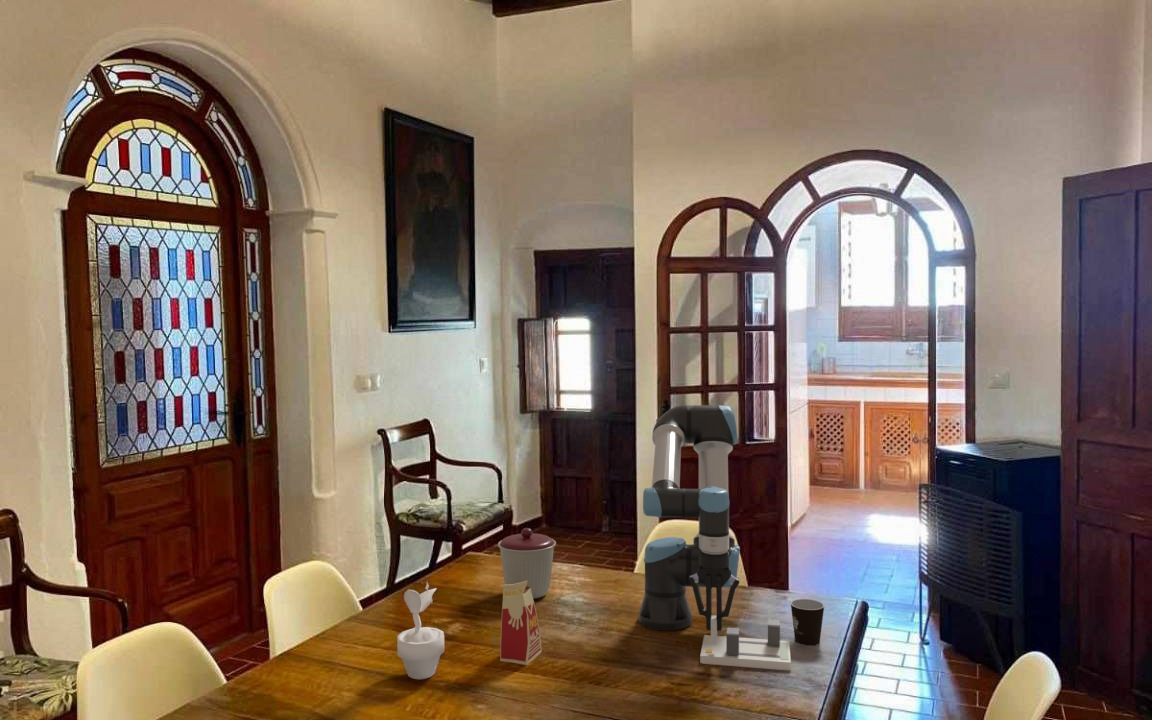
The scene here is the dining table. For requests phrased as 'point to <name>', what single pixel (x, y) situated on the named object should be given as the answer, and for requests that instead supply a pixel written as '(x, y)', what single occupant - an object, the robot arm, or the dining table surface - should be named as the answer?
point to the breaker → (773, 632)
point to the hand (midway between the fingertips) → (714, 642)
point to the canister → (528, 560)
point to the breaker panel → (747, 654)
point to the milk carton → (519, 625)
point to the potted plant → (420, 639)
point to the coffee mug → (807, 621)
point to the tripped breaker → (732, 641)
